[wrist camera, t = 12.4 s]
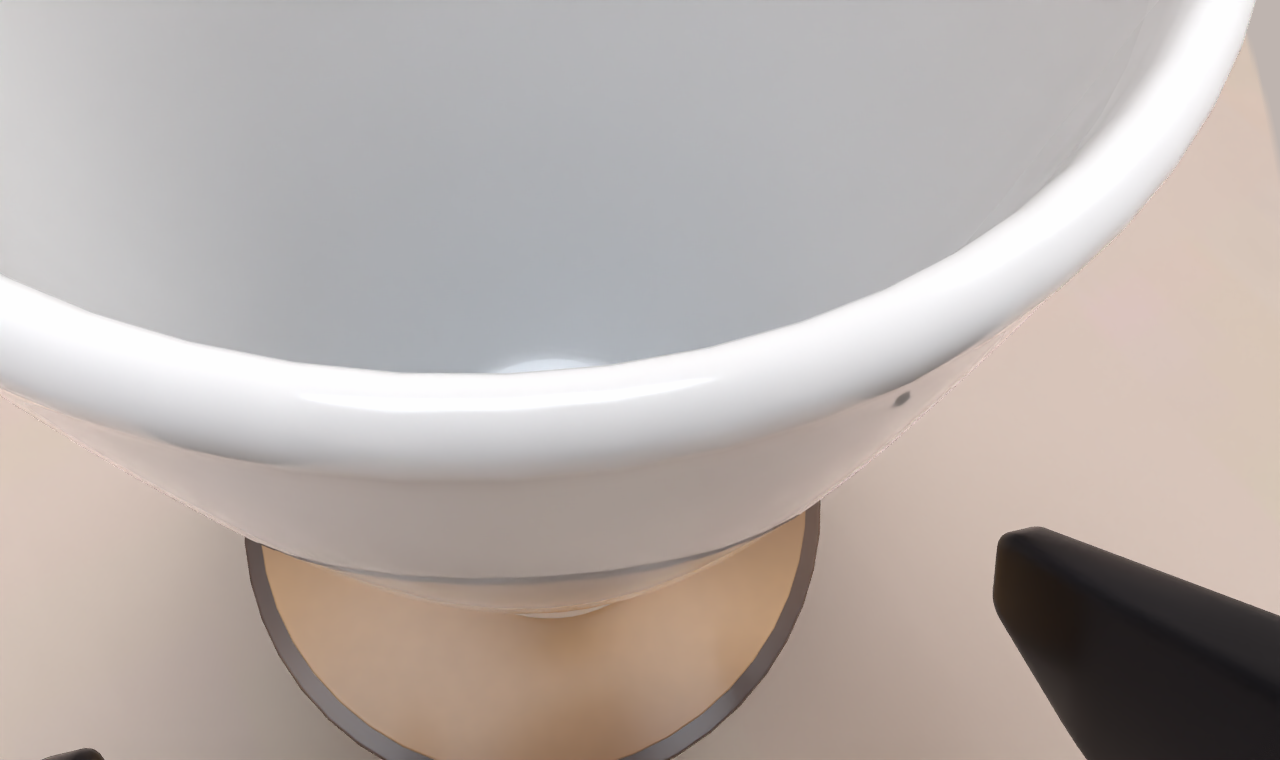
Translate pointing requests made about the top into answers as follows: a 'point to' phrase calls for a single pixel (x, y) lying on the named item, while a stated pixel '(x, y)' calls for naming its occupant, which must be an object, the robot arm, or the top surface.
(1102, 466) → the top surface
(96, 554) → the top surface
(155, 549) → the top surface
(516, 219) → the white tumbler
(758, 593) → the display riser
